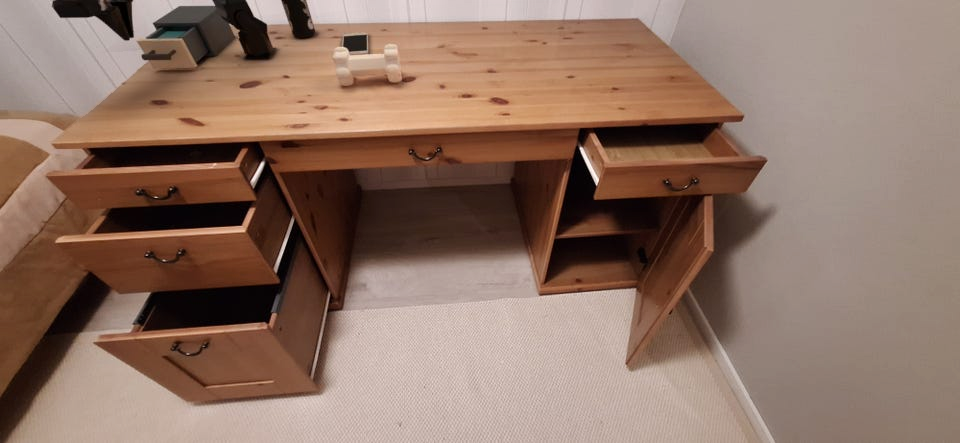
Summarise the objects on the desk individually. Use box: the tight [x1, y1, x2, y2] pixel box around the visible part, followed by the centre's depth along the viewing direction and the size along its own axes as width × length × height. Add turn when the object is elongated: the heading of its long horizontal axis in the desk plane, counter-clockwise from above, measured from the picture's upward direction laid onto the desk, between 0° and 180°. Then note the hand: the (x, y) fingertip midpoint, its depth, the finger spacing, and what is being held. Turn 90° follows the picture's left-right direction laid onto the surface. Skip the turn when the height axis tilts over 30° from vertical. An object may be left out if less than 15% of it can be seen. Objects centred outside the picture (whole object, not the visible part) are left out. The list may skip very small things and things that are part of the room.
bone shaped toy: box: [332, 43, 403, 87], centre depth 91 cm, size 15×9×8 cm, turn 99°
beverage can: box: [280, 0, 316, 39], centre depth 110 cm, size 7×7×12 cm
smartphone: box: [341, 31, 370, 55], centre depth 108 cm, size 7×15×1 cm, turn 12°
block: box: [157, 31, 187, 39], centre depth 97 cm, size 5×5×5 cm
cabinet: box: [152, 5, 236, 57], centre depth 105 cm, size 14×12×9 cm
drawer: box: [136, 26, 210, 69], centre depth 97 cm, size 17×10×7 cm, turn 3°
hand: (129, 39), depth 83 cm, fingers closed
